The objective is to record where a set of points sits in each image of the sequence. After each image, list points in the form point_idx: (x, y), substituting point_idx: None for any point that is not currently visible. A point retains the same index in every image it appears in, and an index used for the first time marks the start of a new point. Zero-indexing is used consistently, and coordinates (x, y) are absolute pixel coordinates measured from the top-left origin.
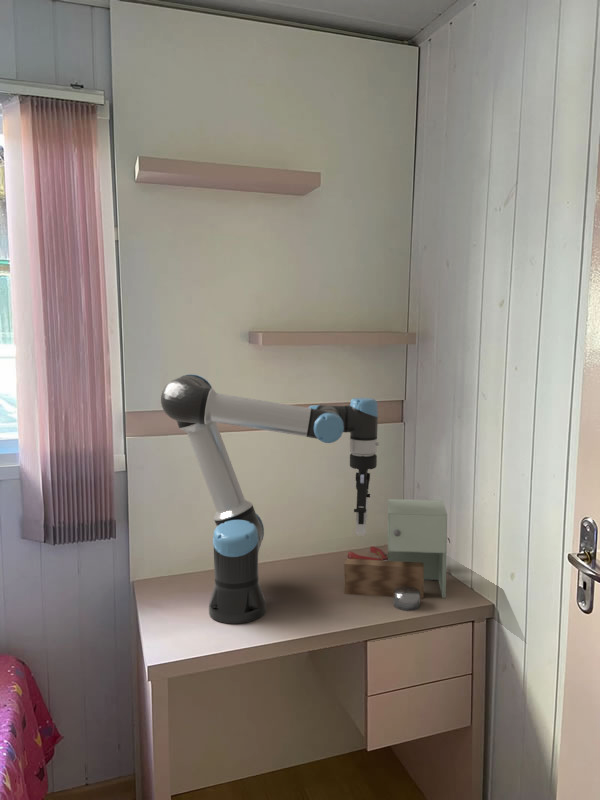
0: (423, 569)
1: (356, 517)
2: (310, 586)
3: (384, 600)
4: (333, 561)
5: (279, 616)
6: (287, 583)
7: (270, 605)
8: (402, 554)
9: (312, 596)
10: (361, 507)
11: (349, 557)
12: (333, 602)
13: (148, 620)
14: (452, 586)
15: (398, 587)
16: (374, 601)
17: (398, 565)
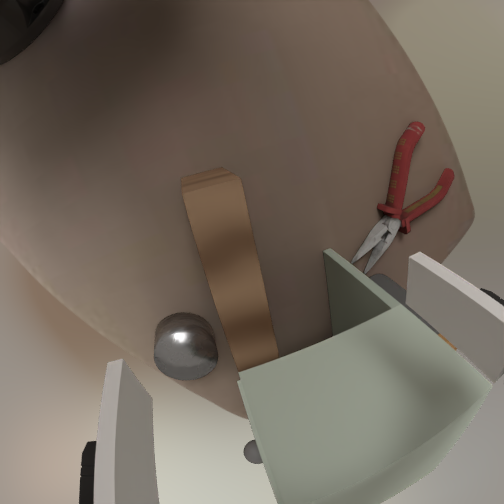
0: None
1: (95, 470)
2: (196, 67)
3: (185, 289)
4: (383, 89)
5: (5, 96)
6: (196, 6)
7: (48, 41)
8: (358, 314)
9: (128, 101)
10: (464, 316)
11: (408, 126)
12: (113, 173)
13: None
14: None
15: (200, 337)
16: (168, 270)
17: (243, 358)
